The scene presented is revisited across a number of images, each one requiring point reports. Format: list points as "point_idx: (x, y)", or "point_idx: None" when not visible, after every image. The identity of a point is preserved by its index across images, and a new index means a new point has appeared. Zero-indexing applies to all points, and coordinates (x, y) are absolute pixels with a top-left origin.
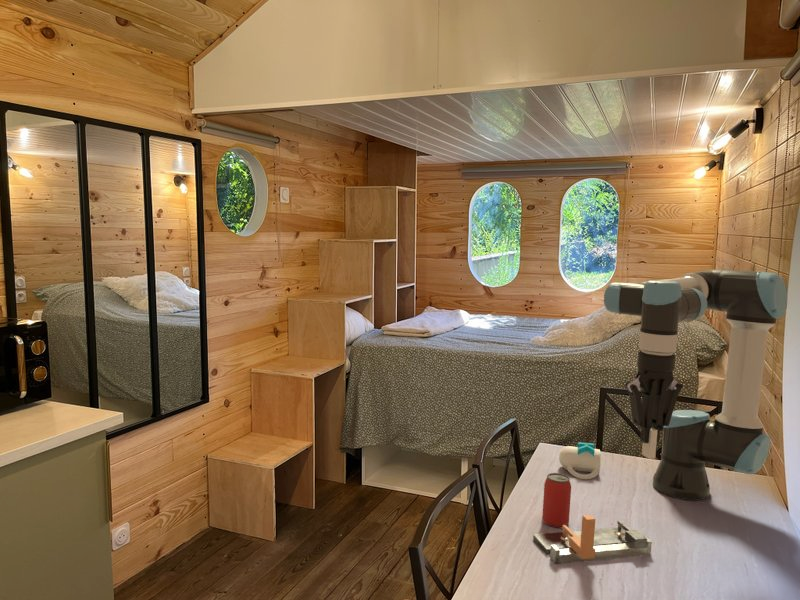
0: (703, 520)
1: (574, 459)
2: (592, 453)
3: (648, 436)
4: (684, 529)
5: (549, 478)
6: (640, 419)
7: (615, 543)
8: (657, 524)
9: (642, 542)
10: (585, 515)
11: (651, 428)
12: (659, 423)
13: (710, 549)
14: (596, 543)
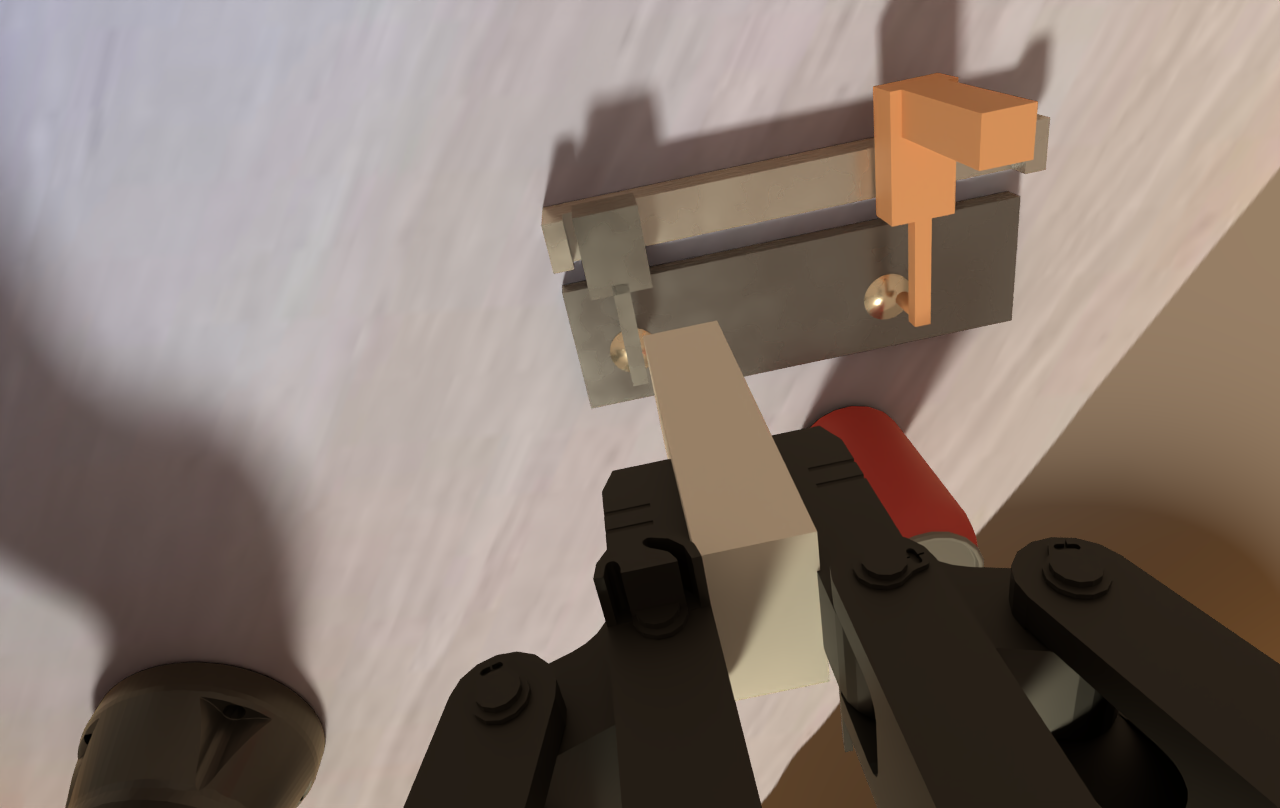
0: (188, 513)
1: None
2: None
3: (800, 488)
4: (302, 434)
5: (982, 562)
6: (1205, 649)
7: (686, 265)
8: (412, 465)
9: (595, 208)
10: (1015, 159)
11: (766, 608)
12: (677, 663)
13: (232, 271)
14: (774, 259)
